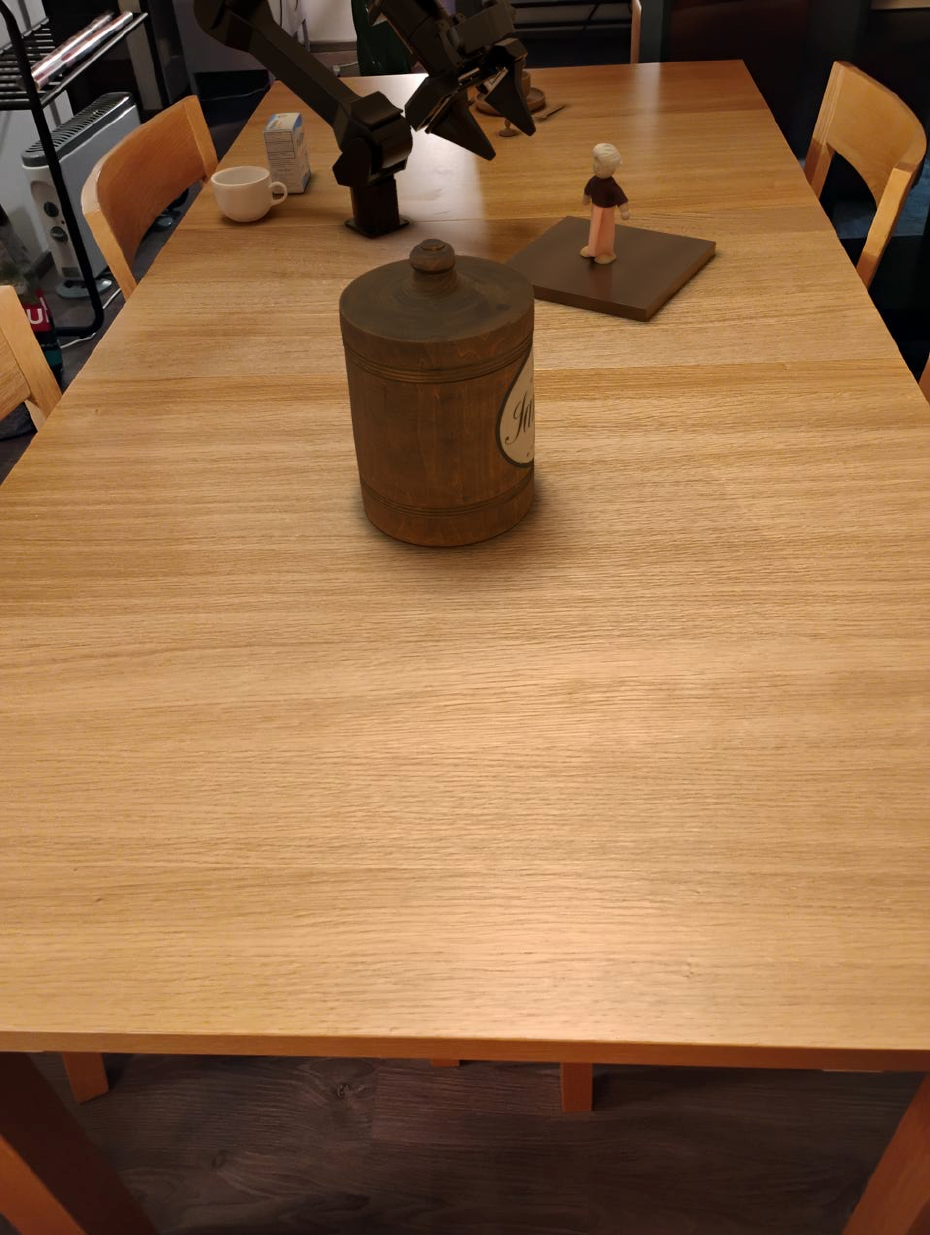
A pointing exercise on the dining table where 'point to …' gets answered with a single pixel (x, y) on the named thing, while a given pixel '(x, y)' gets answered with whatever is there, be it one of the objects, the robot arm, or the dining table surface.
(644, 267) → the stand board
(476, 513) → the wooden container
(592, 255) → the grandmother figurine
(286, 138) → the medicine box
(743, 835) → the dining table surface
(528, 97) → the place setting
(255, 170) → the teacup
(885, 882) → the dining table surface
